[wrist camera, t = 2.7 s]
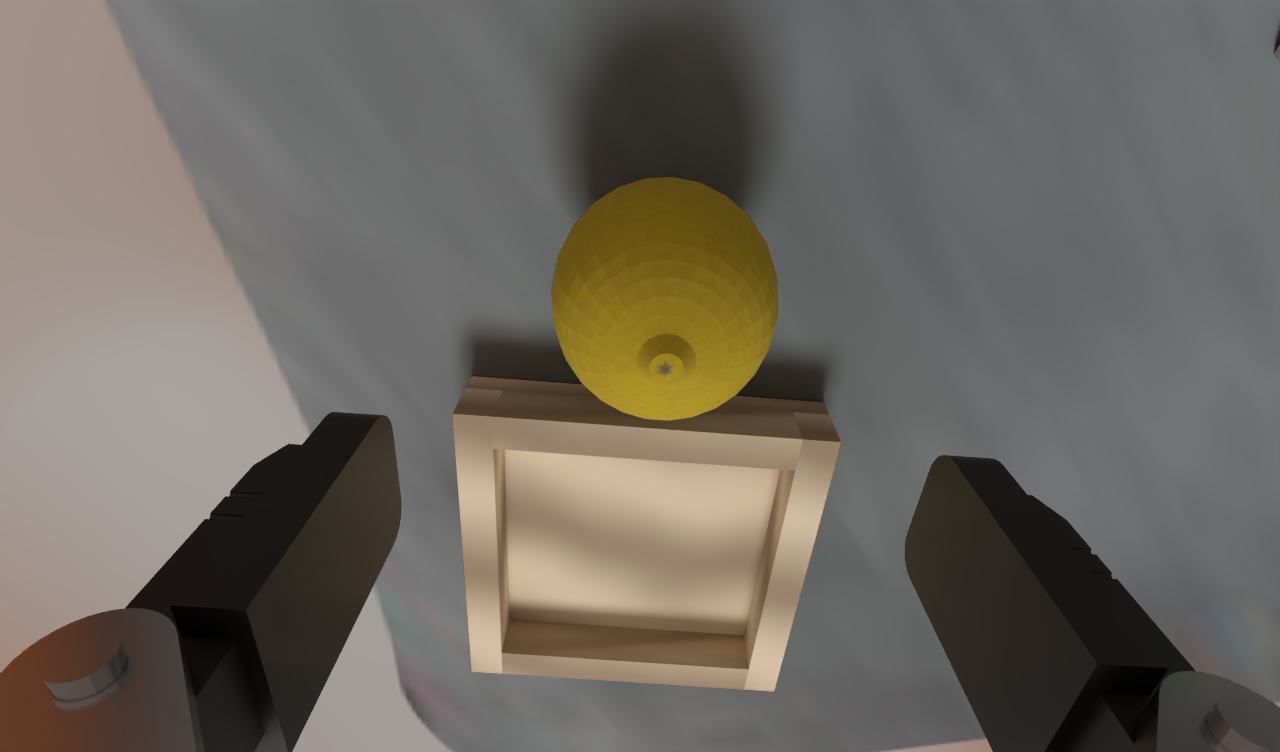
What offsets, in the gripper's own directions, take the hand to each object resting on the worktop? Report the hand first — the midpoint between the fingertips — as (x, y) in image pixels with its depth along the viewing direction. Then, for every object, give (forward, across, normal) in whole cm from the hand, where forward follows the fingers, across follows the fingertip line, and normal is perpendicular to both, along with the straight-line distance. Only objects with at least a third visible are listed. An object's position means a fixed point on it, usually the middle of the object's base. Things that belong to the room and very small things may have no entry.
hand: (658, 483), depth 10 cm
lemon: (+12, 0, 0) cm, 12 cm away
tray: (+12, 0, +11) cm, 16 cm away
